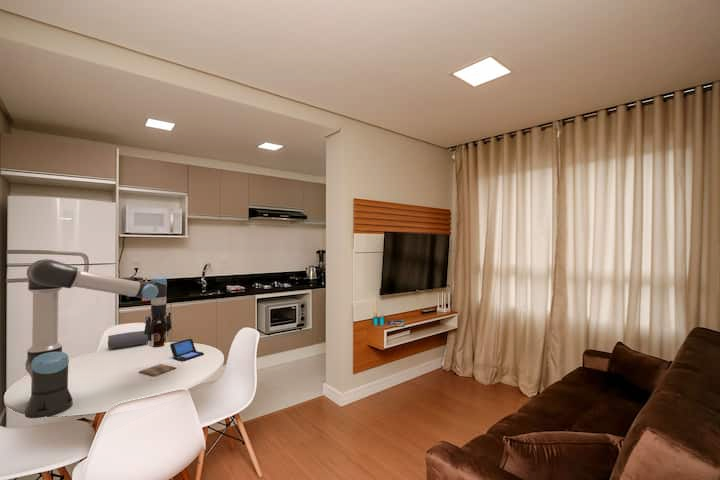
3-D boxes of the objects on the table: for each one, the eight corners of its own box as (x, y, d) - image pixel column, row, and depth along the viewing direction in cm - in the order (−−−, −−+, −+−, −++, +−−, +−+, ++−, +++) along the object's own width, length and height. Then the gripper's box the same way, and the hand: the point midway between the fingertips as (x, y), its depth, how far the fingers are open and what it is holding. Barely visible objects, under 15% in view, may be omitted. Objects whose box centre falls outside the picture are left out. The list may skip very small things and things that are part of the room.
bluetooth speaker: (146, 342, 243) (146, 328, 243) (148, 345, 236) (148, 331, 236) (107, 348, 228) (108, 333, 228) (108, 351, 221) (108, 336, 221)
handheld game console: (182, 362, 203) (182, 347, 204) (168, 358, 210) (169, 344, 210) (204, 354, 217) (205, 340, 218) (191, 351, 224) (191, 337, 224)
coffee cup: (158, 349, 184) (158, 325, 184) (145, 348, 186) (145, 325, 186) (170, 344, 192) (170, 322, 193) (157, 343, 194) (158, 321, 194)
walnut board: (154, 376, 180) (154, 375, 180) (138, 372, 185) (138, 371, 185) (175, 368, 192) (175, 367, 192) (160, 365, 197) (160, 363, 197)
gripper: (145, 307, 179) (144, 350, 178) (179, 302, 197) (178, 340, 197) (136, 306, 182) (135, 348, 181) (170, 301, 200) (170, 338, 200)
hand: (158, 344), depth 189 cm, fingers closed on coffee cup, 7 cm apart
